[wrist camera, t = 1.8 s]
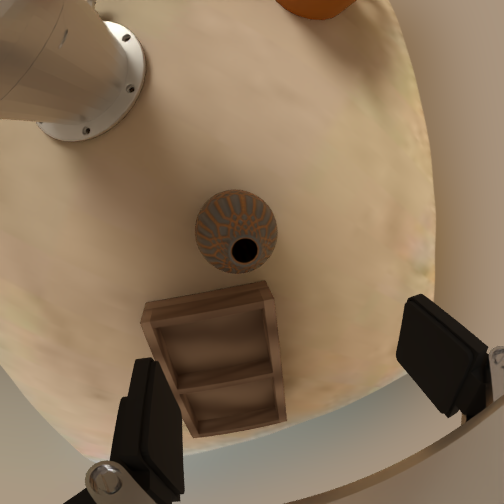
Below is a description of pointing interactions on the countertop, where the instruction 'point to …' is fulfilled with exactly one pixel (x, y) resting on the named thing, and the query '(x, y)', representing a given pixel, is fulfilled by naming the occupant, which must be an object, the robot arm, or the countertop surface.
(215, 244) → the vase
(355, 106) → the countertop surface
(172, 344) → the divided wooden tray
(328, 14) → the mug
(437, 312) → the robot arm
